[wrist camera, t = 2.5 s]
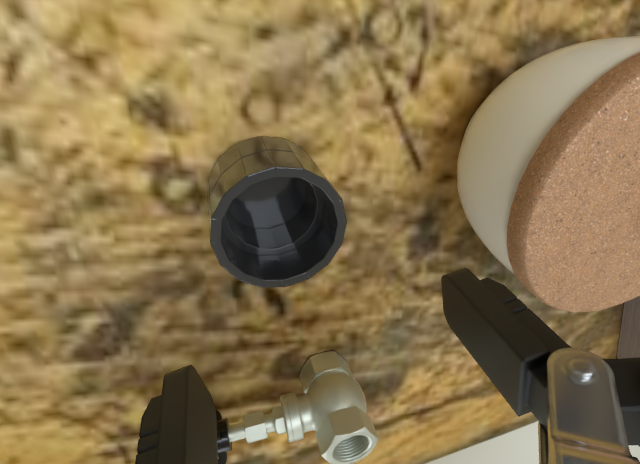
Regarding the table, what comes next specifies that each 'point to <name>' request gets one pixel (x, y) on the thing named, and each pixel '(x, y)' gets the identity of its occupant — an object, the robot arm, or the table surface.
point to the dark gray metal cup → (273, 213)
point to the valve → (313, 414)
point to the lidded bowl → (561, 174)
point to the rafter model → (630, 330)
